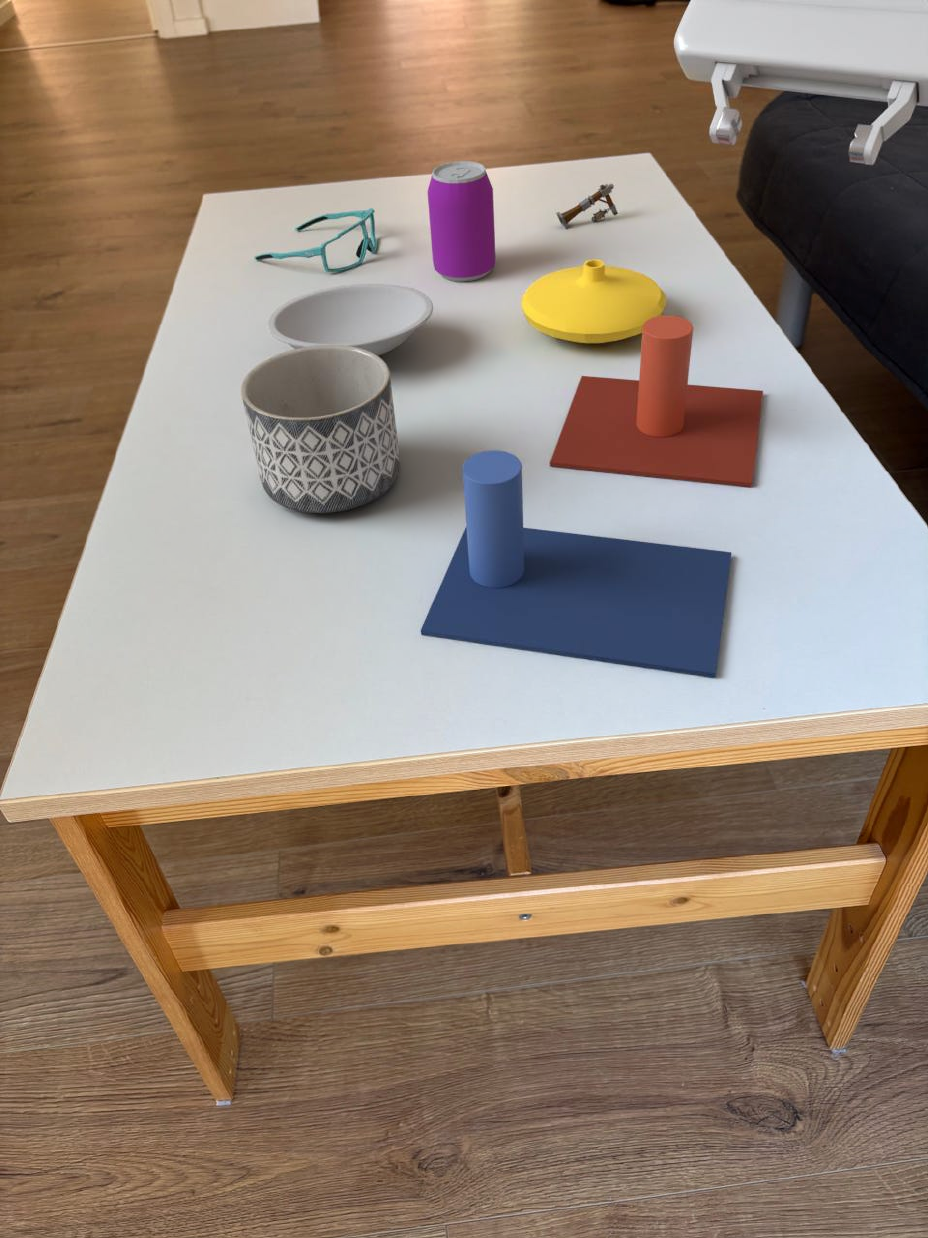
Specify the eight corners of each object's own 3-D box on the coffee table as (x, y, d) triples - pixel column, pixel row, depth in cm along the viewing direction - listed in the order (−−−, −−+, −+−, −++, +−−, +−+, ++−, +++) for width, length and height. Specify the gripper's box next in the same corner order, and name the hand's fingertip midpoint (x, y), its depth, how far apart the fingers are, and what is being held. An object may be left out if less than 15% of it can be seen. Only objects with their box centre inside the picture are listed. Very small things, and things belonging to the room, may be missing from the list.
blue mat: (730, 556, 82) (731, 551, 82) (715, 678, 73) (716, 673, 72) (468, 525, 88) (468, 520, 87) (420, 634, 78) (420, 630, 77)
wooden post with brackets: (625, 211, 134) (613, 181, 131) (572, 245, 135) (559, 216, 132) (620, 206, 136) (608, 176, 133) (568, 240, 137) (555, 211, 134)
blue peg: (529, 557, 83) (527, 453, 76) (517, 591, 80) (514, 486, 73) (477, 550, 84) (471, 447, 77) (463, 584, 81) (455, 480, 74)
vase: (626, 284, 121) (629, 224, 116) (690, 341, 109) (696, 278, 105) (501, 310, 117) (499, 250, 113) (553, 372, 106) (553, 308, 101)
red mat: (762, 394, 101) (763, 390, 100) (751, 487, 89) (752, 482, 89) (581, 379, 105) (581, 375, 104) (549, 466, 93) (549, 461, 93)
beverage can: (483, 286, 122) (479, 184, 114) (424, 280, 124) (415, 179, 116) (504, 260, 127) (501, 160, 119) (447, 255, 130) (440, 156, 122)
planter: (396, 437, 99) (384, 337, 92) (407, 513, 89) (394, 409, 82) (265, 452, 98) (243, 352, 91) (262, 531, 89) (237, 427, 82)
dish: (426, 316, 117) (422, 274, 114) (446, 376, 107) (443, 332, 103) (272, 337, 116) (264, 295, 112) (278, 400, 105) (269, 356, 102)
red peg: (685, 414, 98) (695, 316, 91) (680, 439, 95) (690, 339, 88) (639, 410, 99) (646, 313, 92) (633, 434, 96) (639, 336, 89)
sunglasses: (345, 281, 125) (336, 240, 122) (248, 277, 132) (237, 238, 129) (399, 237, 134) (392, 198, 131) (306, 235, 141) (297, 198, 138)
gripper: (705, -95, 68) (632, 104, 69) (1035, -85, 59) (947, 144, 60) (724, -31, 74) (656, 152, 75) (1028, -13, 65) (947, 195, 66)
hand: (788, 149), depth 67 cm, fingers open, 8 cm apart
